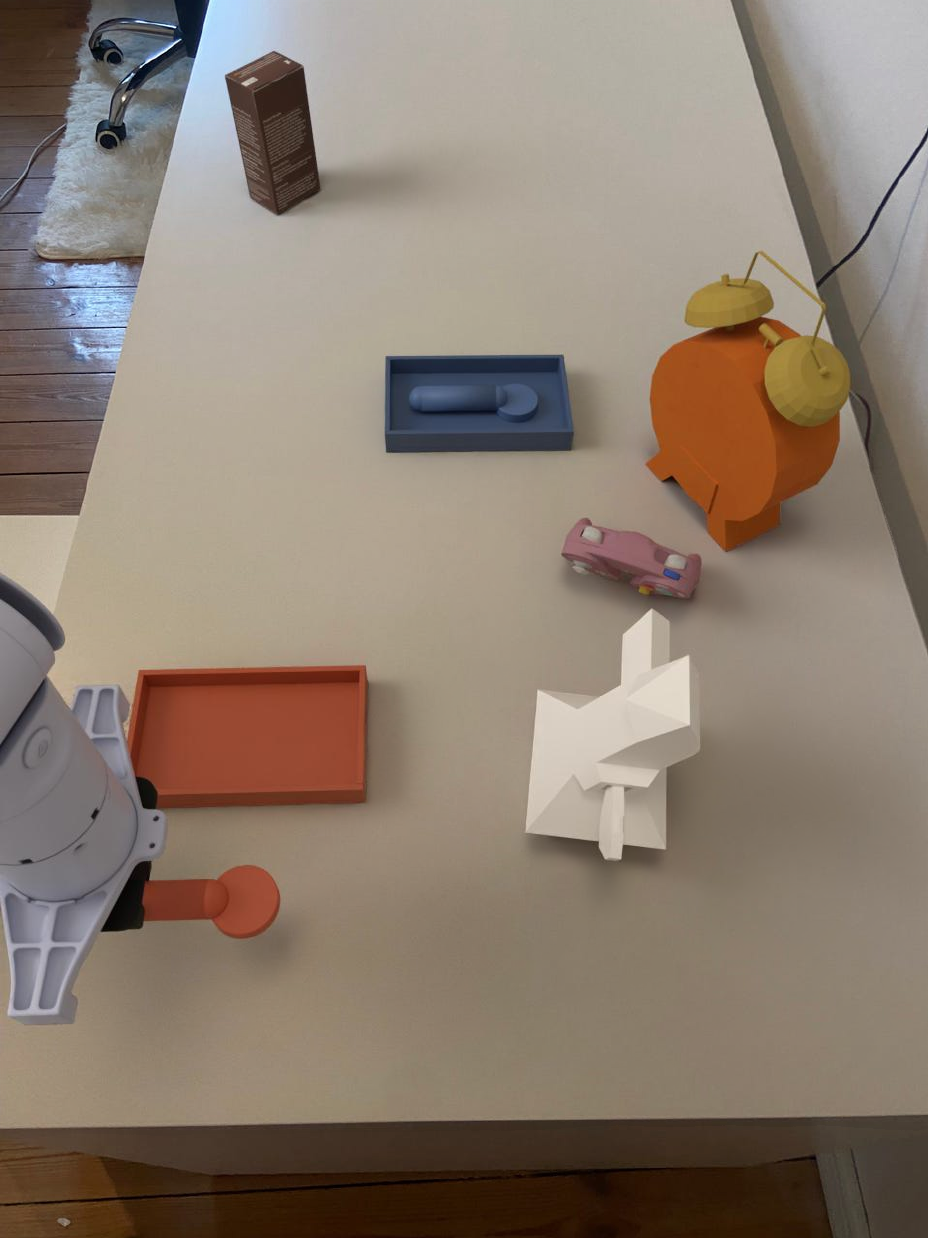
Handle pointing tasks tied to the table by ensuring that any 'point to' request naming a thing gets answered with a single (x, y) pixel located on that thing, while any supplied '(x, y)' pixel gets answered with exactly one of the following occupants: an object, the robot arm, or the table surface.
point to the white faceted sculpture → (615, 747)
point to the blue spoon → (478, 400)
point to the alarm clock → (746, 408)
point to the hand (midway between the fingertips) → (126, 899)
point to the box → (274, 130)
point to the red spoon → (217, 901)
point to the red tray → (251, 735)
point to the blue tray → (476, 427)
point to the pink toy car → (631, 559)
